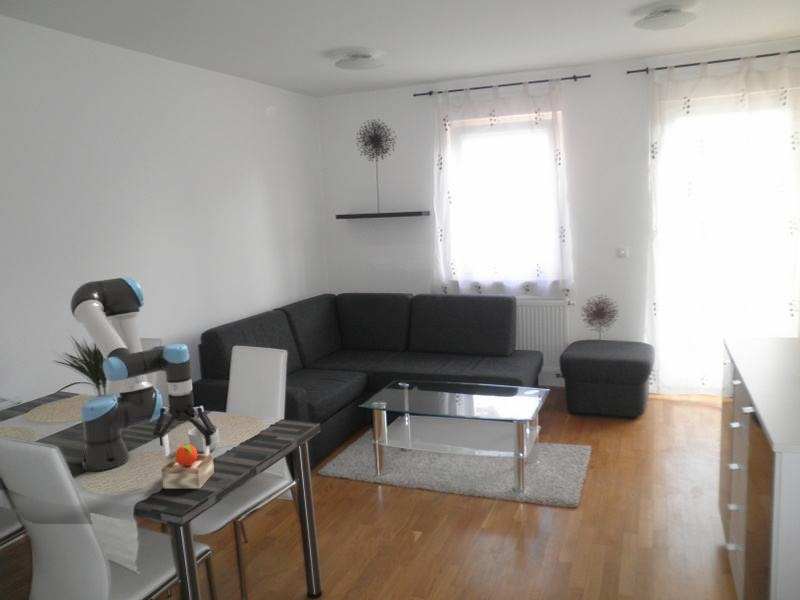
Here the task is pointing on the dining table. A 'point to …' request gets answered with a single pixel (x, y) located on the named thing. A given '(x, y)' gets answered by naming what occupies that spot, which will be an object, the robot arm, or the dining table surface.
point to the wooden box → (188, 473)
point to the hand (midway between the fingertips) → (186, 455)
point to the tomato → (186, 455)
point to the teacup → (197, 441)
